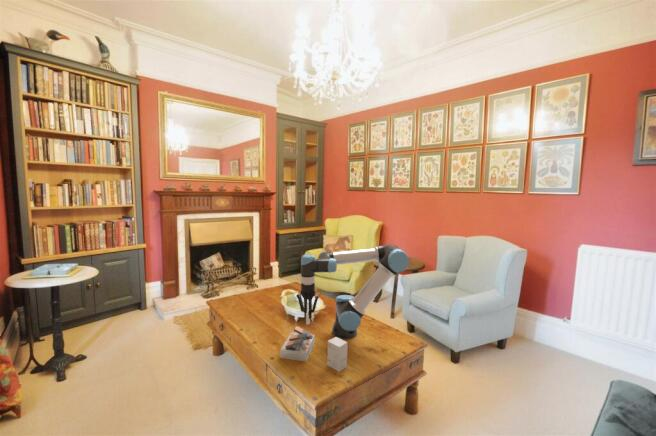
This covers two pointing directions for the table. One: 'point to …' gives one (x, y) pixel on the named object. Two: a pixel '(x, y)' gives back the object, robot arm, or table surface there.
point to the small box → (337, 354)
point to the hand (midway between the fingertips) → (308, 323)
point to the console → (298, 349)
